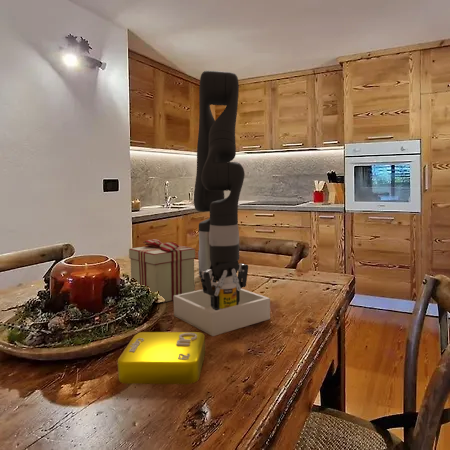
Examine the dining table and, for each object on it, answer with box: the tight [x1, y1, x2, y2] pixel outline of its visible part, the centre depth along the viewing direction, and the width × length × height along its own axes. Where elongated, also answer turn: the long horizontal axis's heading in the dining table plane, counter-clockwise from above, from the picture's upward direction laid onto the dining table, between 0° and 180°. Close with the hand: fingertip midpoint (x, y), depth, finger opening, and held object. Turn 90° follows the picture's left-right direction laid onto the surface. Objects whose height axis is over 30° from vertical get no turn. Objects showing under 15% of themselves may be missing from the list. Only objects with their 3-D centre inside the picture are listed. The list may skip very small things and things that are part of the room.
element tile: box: [117, 331, 206, 385], centre depth 80 cm, size 15×15×5 cm
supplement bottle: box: [215, 276, 236, 311], centre depth 104 cm, size 6×6×10 cm
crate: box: [172, 288, 271, 337], centre depth 106 cm, size 18×18×6 cm
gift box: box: [128, 238, 196, 303], centre depth 128 cm, size 17×18×17 cm
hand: (225, 306), depth 105 cm, fingers closed on supplement bottle, 5 cm apart
